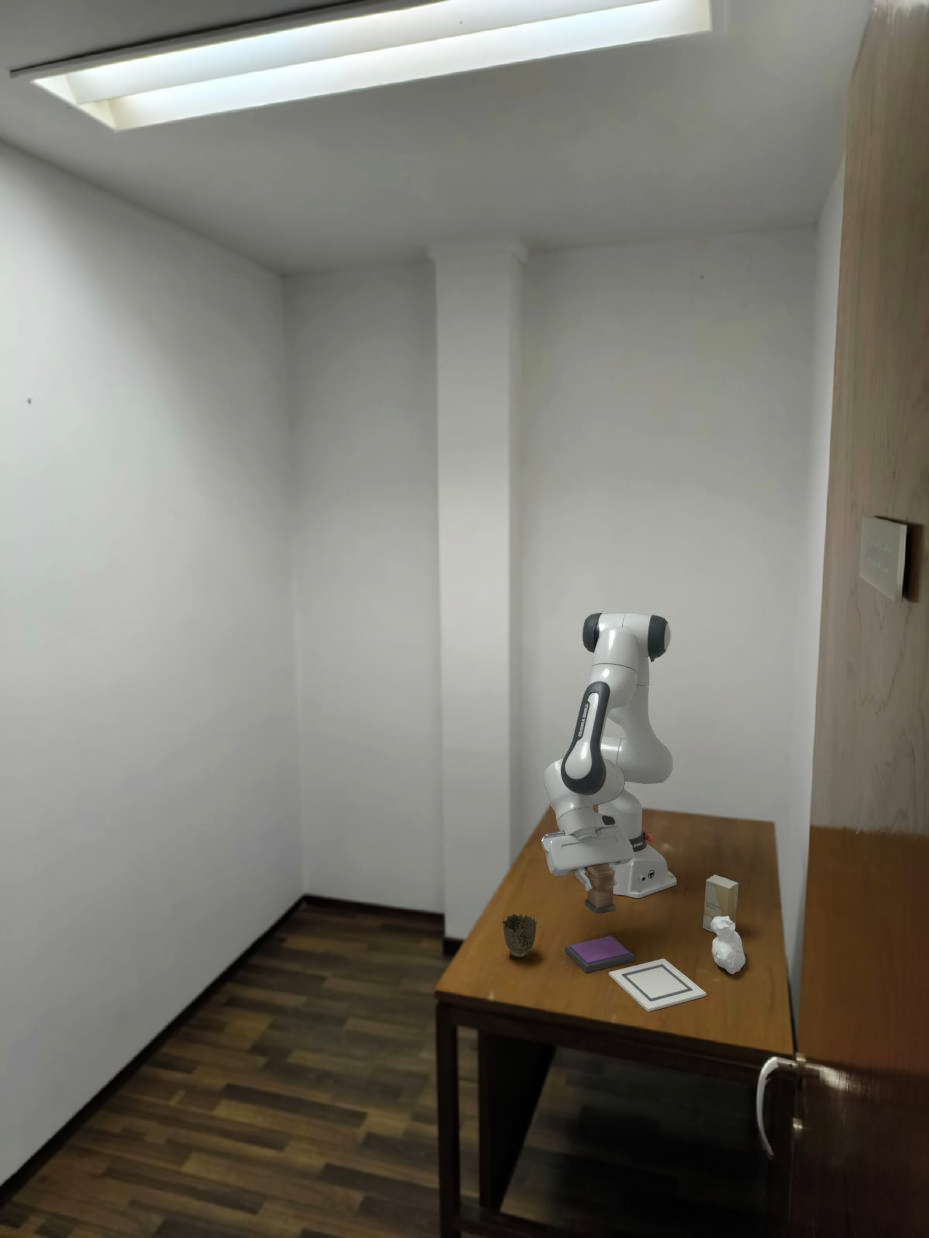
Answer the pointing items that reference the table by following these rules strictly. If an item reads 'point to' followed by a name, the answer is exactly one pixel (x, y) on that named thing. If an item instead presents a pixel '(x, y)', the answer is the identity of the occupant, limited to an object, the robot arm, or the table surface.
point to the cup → (519, 934)
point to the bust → (727, 945)
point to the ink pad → (599, 953)
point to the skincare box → (719, 900)
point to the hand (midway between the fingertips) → (602, 887)
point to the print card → (656, 984)
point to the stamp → (601, 889)
